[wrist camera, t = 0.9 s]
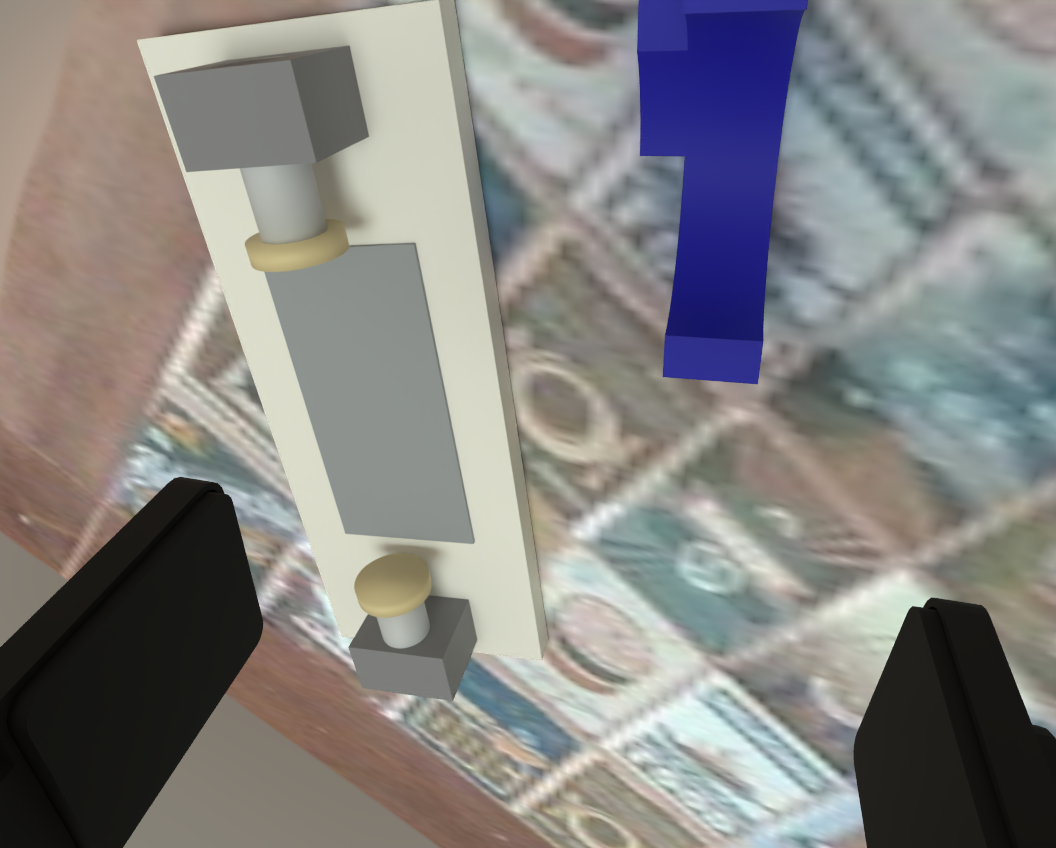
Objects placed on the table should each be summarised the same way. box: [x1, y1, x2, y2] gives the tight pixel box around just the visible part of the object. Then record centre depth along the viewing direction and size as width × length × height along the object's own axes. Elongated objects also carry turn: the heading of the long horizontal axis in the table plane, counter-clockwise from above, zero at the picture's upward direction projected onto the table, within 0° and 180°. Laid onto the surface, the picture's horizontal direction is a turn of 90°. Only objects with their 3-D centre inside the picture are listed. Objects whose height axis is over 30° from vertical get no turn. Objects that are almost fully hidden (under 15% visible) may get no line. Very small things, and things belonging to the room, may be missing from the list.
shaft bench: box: [137, 0, 548, 701], centre depth 33 cm, size 12×31×6 cm, turn 7°
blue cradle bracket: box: [637, 0, 808, 384], centre depth 24 cm, size 12×4×6 cm, turn 3°
